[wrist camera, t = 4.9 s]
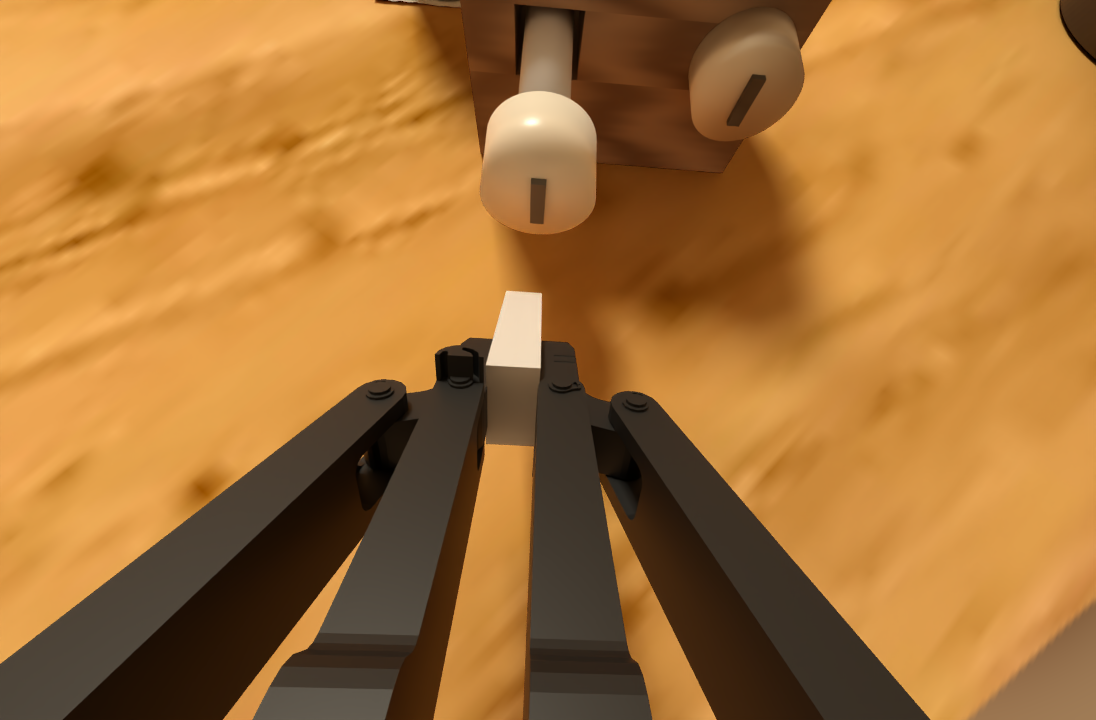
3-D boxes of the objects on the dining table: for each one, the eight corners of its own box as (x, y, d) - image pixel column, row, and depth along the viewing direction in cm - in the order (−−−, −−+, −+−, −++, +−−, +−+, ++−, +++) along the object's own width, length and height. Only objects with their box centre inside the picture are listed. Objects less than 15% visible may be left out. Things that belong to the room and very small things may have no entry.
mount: (710, 63, 29) (813, -171, 19) (725, 206, 25) (865, 13, 15) (494, 43, 29) (476, -211, 18) (476, 187, 25) (441, -28, 14)
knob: (591, 19, 23) (606, -94, 19) (586, 243, 19) (606, 166, 14) (509, 11, 23) (505, -105, 19) (484, 235, 19) (471, 155, 14)
